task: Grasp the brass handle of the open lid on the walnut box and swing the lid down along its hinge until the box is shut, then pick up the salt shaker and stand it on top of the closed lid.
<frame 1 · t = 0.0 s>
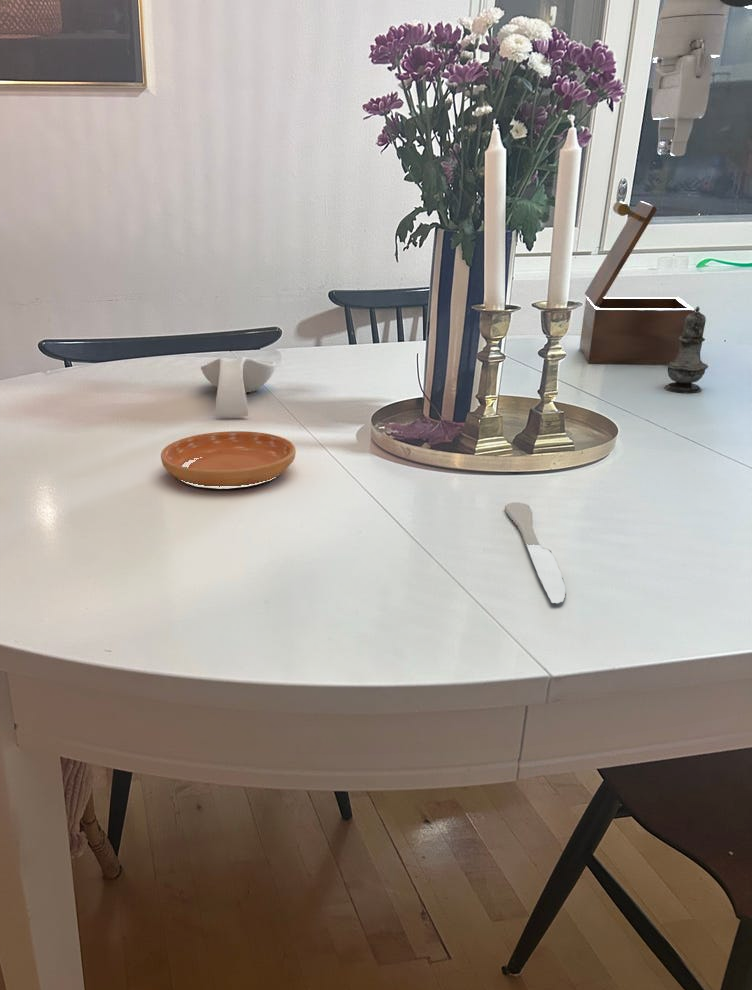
hand: (670, 154, 137), 31 cm above the table, tool pointing down, fingers open, 8 cm apart
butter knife: (534, 552, 89), on the table
chest: (629, 356, 163), on the table
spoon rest: (237, 399, 143), on the table
lid: (608, 248, 155), point 18 cm above the table, hinge at 65.0°
saucer: (229, 474, 112), on the table
salt shaker: (682, 390, 142), on the table
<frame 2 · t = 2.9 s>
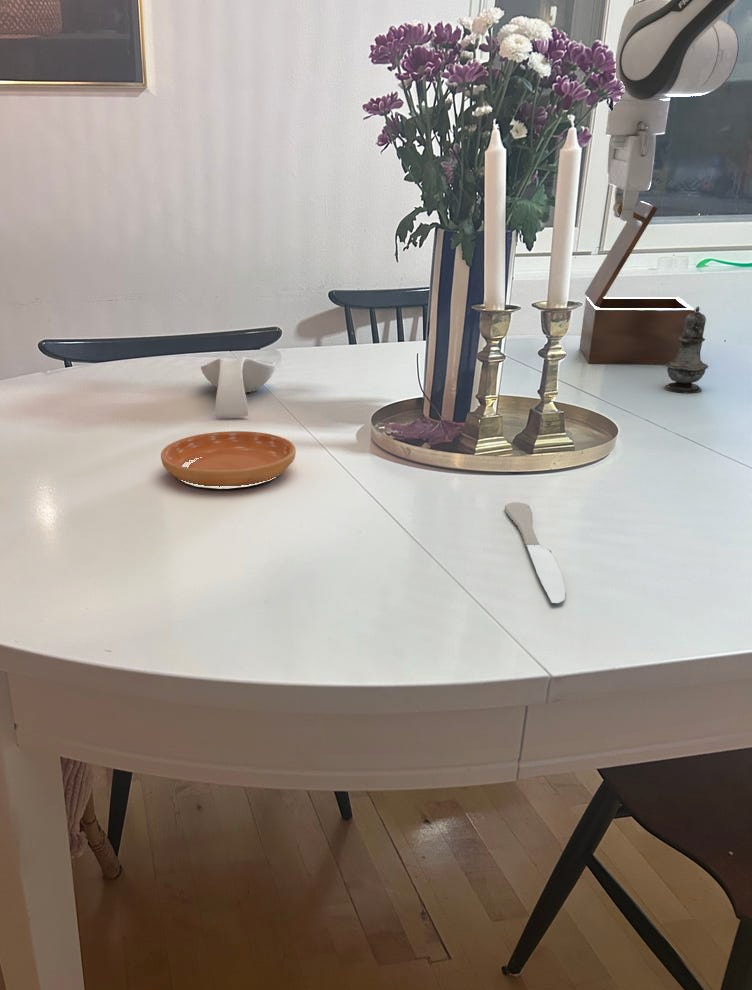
hand: (622, 218, 153), 22 cm above the table, tool pointing down, fingers closed on lid, 5 cm apart
lid: (608, 248, 155), point 18 cm above the table, hinge at 65.0°, touching gripper
everything else where it was.
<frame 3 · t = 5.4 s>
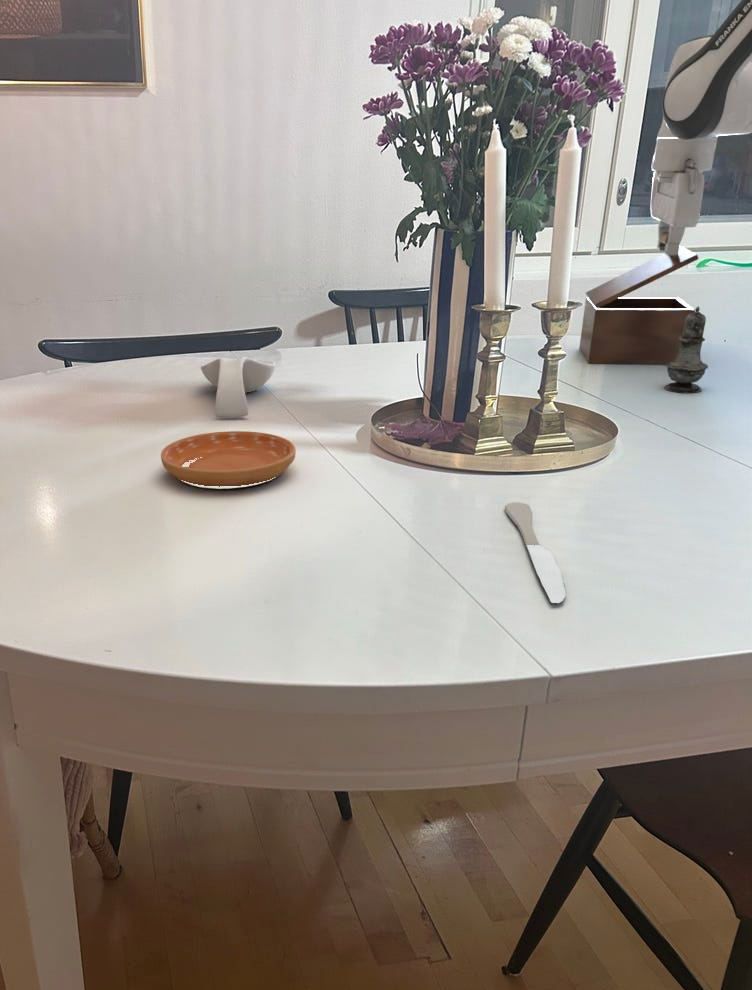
hand: (666, 252, 154), 17 cm above the table, tool pointing down, fingers closed on lid, 5 cm apart
lid: (635, 265, 156), point 15 cm above the table, hinge at 27.6°, touching gripper
everything else where it was.
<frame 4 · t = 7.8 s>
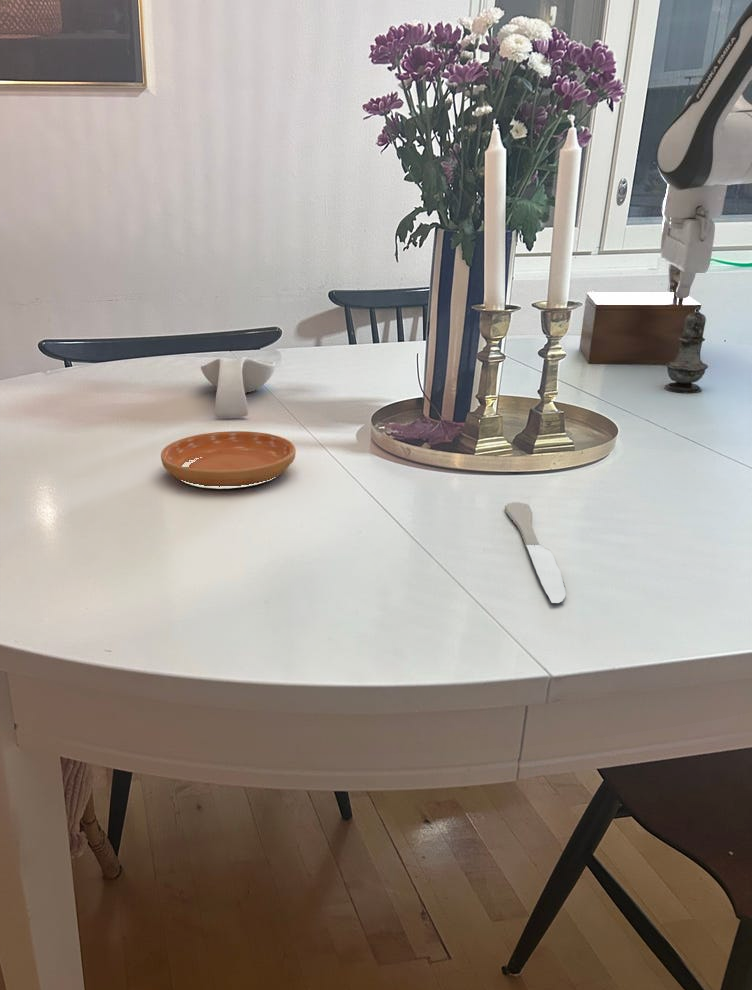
hand: (677, 295, 157), 10 cm above the table, tool pointing down, fingers closed on lid, 5 cm apart
lid: (643, 288, 157), point 11 cm above the table, hinge at -0.2°, touching chest, gripper
everything else where it was.
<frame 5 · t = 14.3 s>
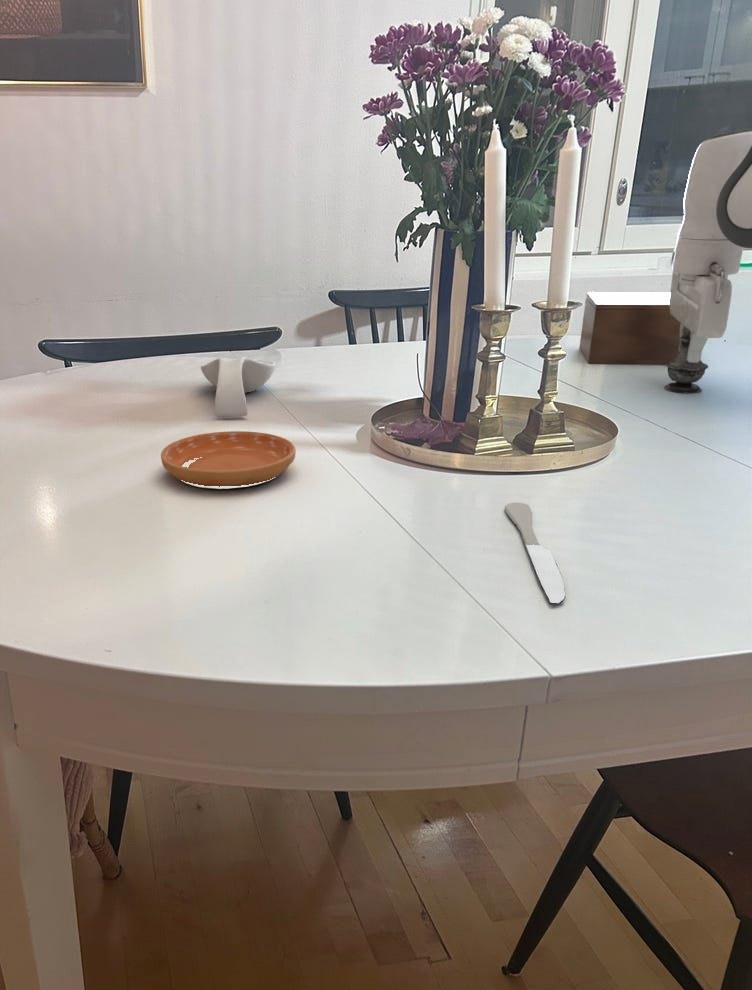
hand: (688, 358, 140), 5 cm above the table, tool pointing down, fingers closed on salt shaker, 3 cm apart
lid: (643, 288, 157), point 11 cm above the table, hinge at -0.2°
salt shaker: (682, 390, 142), on the table, touching gripper
everything else where it was.
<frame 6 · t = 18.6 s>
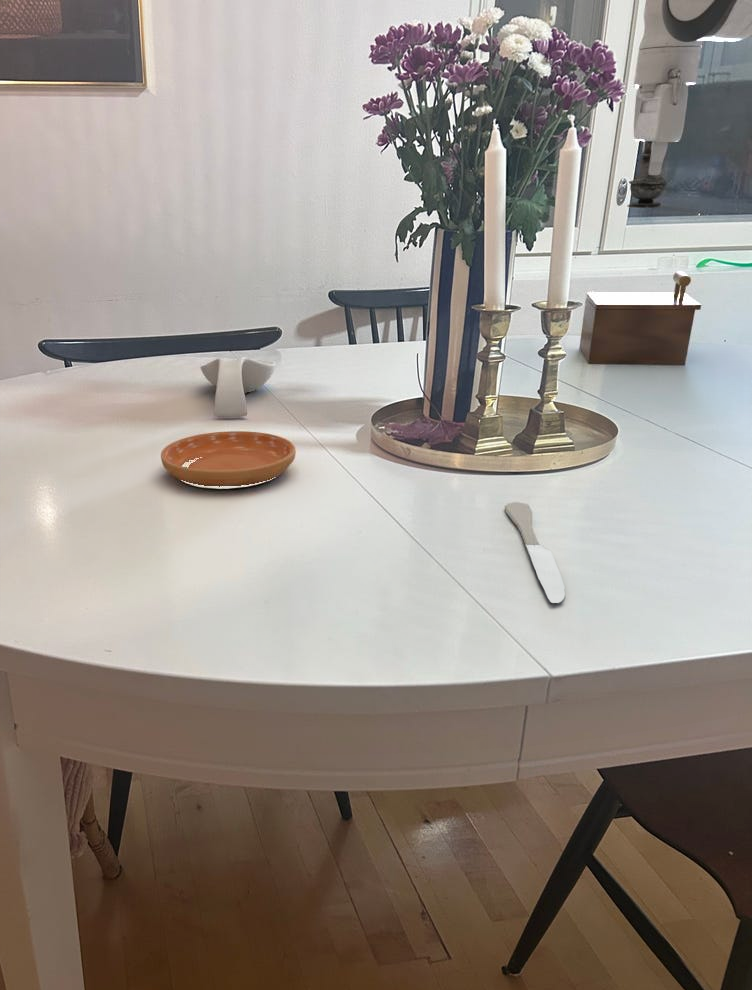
hand: (650, 174, 147), 29 cm above the table, tool pointing down, fingers closed on salt shaker, 3 cm apart
salt shaker: (644, 207, 149), point 24 cm above the table, touching gripper
everything else where it was.
when the fingers open (14 cm above the table, at t = 22.9 s): salt shaker stays where it is, resting on lid.
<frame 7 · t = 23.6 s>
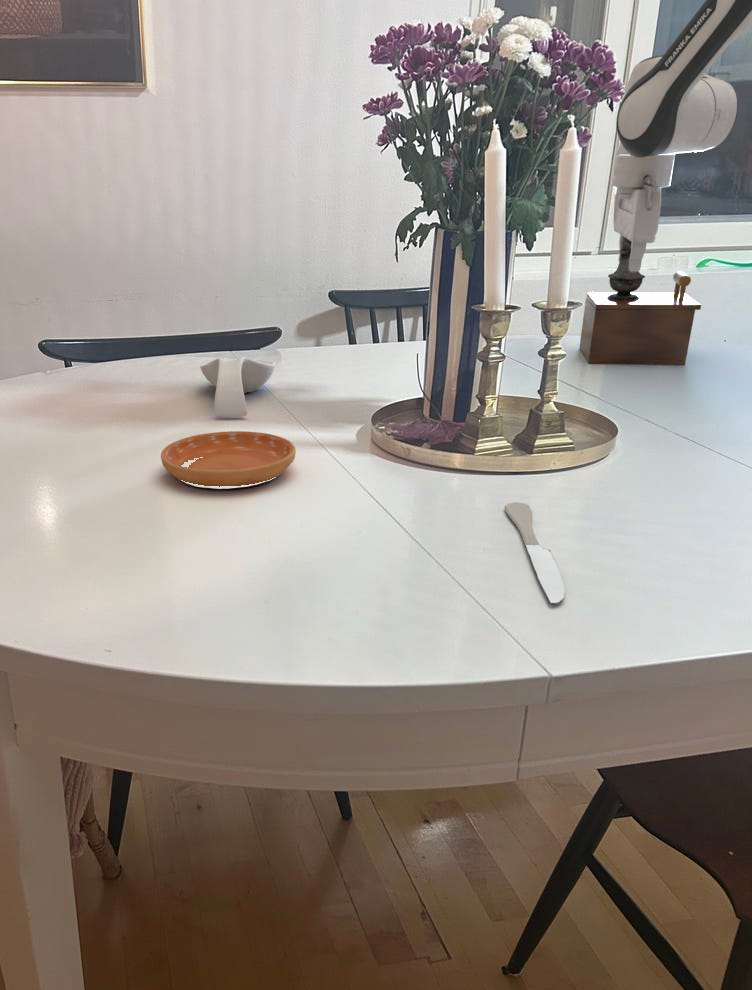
hand: (628, 267, 156), 15 cm above the table, tool pointing down, fingers open, 8 cm apart
lid: (643, 288, 157), point 11 cm above the table, hinge at -0.2°, touching chest, salt shaker
salt shaker: (622, 299, 159), point 9 cm above the table, touching lid
everything else where it was.
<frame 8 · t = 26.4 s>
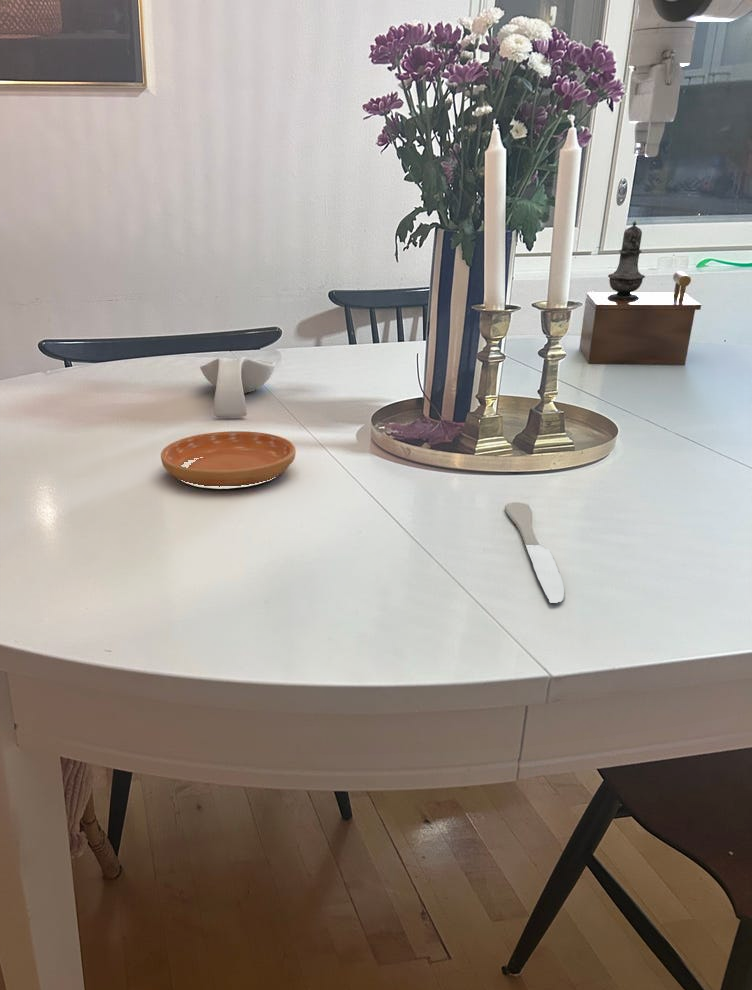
hand: (644, 155, 148), 31 cm above the table, tool pointing down, fingers open, 8 cm apart
nothing on the table moved.
at the end: lid at +0° (first picture: +65°); salt shaker inside the target area on the chest (1.9 cm from its centre), point 9.4 cm above the chest's base; salt shaker tilted 0° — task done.
